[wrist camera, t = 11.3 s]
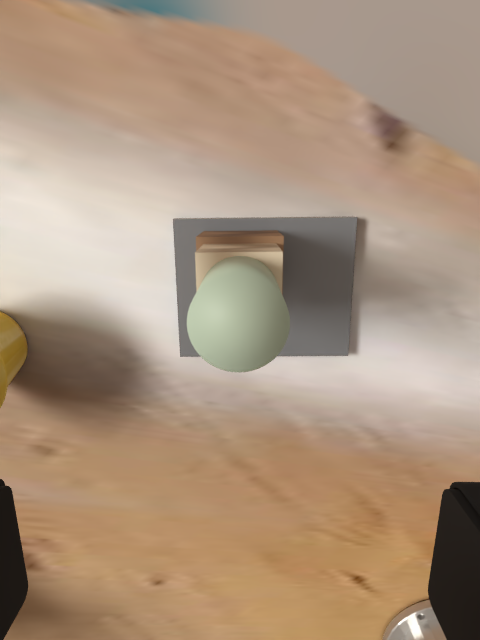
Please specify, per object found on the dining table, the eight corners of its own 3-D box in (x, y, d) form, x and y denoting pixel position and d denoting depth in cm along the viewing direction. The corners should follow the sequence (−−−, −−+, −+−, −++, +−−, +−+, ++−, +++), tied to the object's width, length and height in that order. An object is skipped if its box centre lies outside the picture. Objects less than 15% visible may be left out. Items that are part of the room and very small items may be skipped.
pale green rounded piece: (279, 255, 23) (291, 272, 18) (278, 332, 25) (288, 371, 19) (199, 256, 24) (184, 273, 18) (201, 332, 25) (189, 372, 19)
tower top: (276, 243, 28) (282, 251, 23) (275, 313, 30) (281, 335, 25) (203, 244, 28) (194, 252, 23) (205, 314, 30) (198, 336, 25)
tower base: (277, 230, 34) (283, 236, 28) (276, 301, 35) (282, 320, 30) (204, 231, 34) (195, 236, 28) (206, 302, 36) (199, 321, 30)
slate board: (353, 216, 34) (357, 217, 33) (345, 351, 38) (348, 355, 37) (175, 218, 35) (172, 218, 34) (181, 352, 38) (180, 356, 37)
